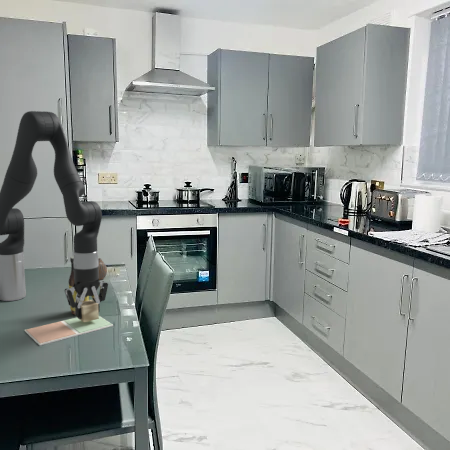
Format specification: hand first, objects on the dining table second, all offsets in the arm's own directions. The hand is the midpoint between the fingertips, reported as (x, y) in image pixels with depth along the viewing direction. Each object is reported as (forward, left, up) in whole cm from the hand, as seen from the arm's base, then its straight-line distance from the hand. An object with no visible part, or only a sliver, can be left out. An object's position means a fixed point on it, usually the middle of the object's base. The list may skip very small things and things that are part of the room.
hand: (87, 316), depth 143 cm
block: (0, 0, -1) cm, 1 cm away
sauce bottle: (-11, +2, -3) cm, 12 cm away
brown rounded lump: (-44, +25, -3) cm, 51 cm away
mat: (0, -6, -3) cm, 7 cm away
